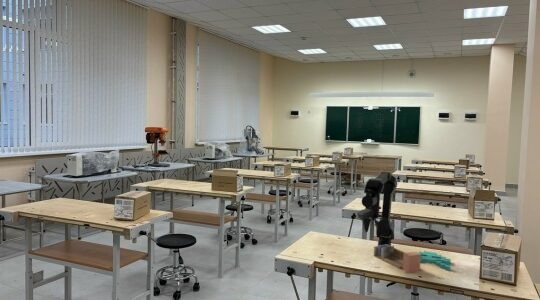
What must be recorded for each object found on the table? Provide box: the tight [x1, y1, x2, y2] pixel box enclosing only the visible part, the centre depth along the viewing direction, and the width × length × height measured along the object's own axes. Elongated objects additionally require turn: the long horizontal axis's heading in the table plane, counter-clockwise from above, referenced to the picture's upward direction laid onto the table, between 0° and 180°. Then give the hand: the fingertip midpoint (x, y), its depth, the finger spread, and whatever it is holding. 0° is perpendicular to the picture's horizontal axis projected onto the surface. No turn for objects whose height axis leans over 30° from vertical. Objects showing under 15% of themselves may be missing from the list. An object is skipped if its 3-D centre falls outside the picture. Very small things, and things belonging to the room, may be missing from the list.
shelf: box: [373, 244, 406, 270], centre depth 198 cm, size 9×19×6 cm, turn 24°
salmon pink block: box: [402, 251, 421, 273], centre depth 187 cm, size 7×4×8 cm, turn 114°
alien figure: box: [415, 250, 452, 272], centre depth 201 cm, size 20×2×20 cm
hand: (371, 234), depth 197 cm, fingers open, 9 cm apart
